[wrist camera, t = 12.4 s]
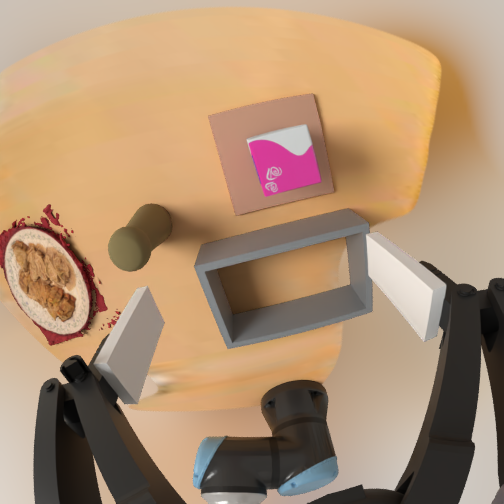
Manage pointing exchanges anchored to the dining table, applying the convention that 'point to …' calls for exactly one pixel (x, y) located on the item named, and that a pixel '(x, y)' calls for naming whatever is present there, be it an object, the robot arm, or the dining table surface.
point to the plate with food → (49, 279)
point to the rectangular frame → (296, 311)
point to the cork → (139, 237)
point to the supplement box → (284, 159)
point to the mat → (259, 122)
